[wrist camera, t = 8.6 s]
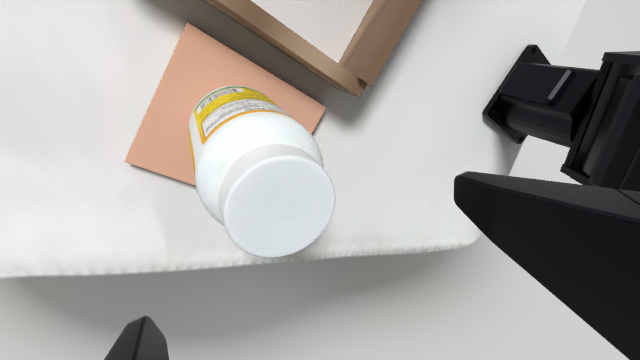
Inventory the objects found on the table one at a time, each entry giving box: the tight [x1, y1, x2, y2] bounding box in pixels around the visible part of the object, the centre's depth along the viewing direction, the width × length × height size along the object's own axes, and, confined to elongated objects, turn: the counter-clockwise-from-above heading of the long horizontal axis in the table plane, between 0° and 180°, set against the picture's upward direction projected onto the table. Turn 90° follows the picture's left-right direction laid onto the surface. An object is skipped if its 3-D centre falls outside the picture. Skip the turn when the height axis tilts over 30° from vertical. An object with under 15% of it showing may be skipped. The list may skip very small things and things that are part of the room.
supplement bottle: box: [188, 85, 335, 258], centre depth 15 cm, size 5×5×10 cm
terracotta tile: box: [124, 23, 327, 186], centre depth 19 cm, size 9×8×1 cm
